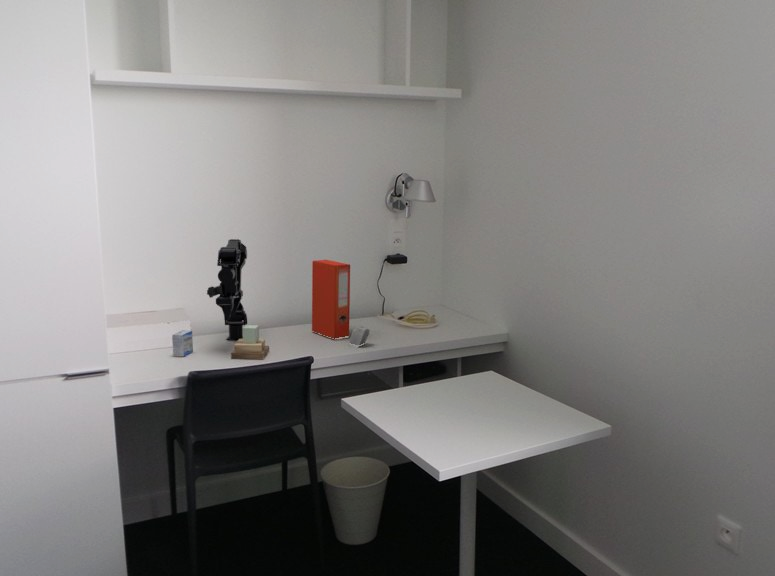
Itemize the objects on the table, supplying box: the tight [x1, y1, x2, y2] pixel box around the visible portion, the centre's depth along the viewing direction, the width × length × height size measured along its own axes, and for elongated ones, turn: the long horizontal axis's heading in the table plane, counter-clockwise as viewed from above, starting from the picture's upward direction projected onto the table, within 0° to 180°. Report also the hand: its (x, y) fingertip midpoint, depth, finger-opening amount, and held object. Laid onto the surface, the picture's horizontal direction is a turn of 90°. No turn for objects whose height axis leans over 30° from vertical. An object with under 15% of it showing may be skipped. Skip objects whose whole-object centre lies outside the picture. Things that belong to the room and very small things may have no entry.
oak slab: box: [233, 338, 266, 353], centre depth 266 cm, size 10×10×3 cm
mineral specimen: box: [348, 326, 371, 345], centre depth 283 cm, size 7×9×8 cm
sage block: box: [243, 324, 260, 344], centre depth 265 cm, size 5×5×6 cm
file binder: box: [311, 259, 351, 339], centre depth 297 cm, size 8×17×32 cm, turn 39°
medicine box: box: [171, 329, 194, 358], centre depth 266 cm, size 8×4×9 cm, turn 168°
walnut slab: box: [230, 345, 270, 361], centre depth 266 cm, size 12×12×3 cm
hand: (230, 317), depth 273 cm, fingers open, 9 cm apart
